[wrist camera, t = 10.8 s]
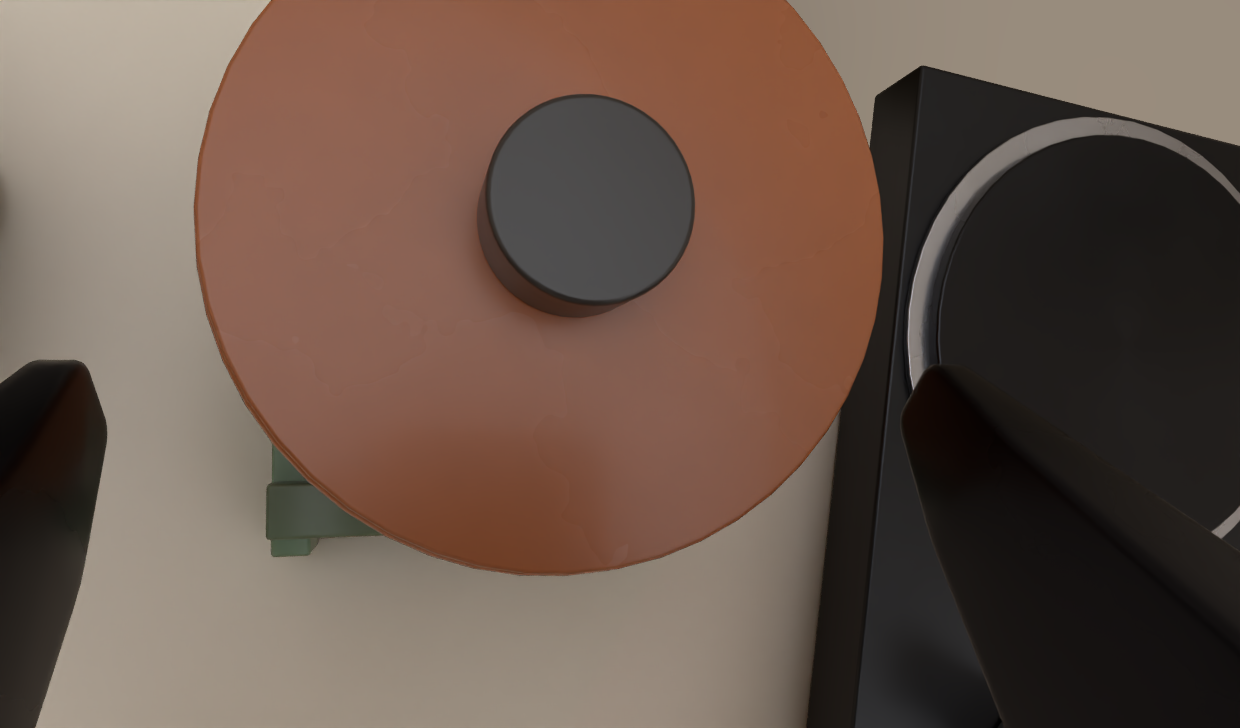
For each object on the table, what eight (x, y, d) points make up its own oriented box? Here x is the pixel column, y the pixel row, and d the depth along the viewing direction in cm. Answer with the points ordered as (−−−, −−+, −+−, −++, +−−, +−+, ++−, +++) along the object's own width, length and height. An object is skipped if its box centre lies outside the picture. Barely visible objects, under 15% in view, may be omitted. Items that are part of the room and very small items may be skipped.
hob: (1178, 951, 22) (1260, 1010, 19) (779, 957, 19) (825, 1026, 17) (1234, 182, 23) (1316, 160, 21) (873, 95, 21) (926, 60, 19)
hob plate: (1274, 598, 20) (1295, 602, 20) (878, 557, 18) (891, 561, 17) (1303, 168, 21) (1323, 162, 21) (928, 74, 19) (942, 65, 18)
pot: (664, 488, 17) (962, 588, 8) (301, 500, 15) (132, 642, 6) (662, 150, 17) (944, -140, 8) (305, 126, 16) (151, -270, 6)
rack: (664, 528, 19) (710, 552, 16) (281, 545, 17) (254, 574, 14) (661, 130, 19) (705, 81, 16) (287, 103, 17) (262, 41, 14)
